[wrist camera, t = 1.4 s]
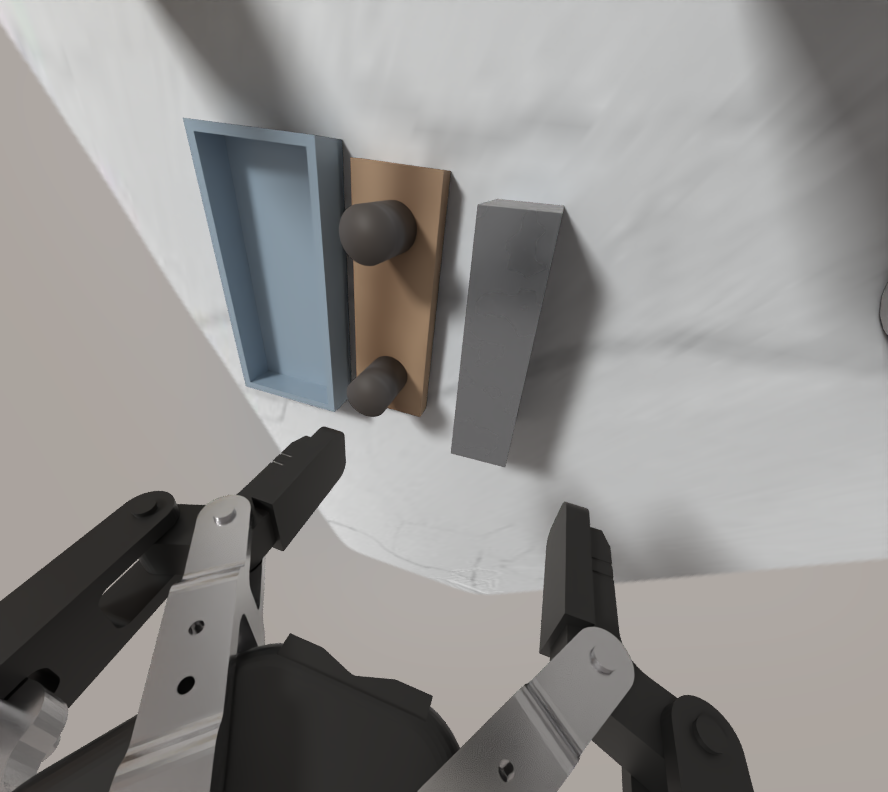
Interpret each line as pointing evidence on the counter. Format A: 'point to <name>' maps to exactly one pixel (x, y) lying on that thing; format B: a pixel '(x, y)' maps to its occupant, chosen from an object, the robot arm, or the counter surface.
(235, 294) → the slot tray
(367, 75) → the counter surface
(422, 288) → the peg rack
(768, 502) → the counter surface
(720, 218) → the counter surface
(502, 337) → the steel bar
